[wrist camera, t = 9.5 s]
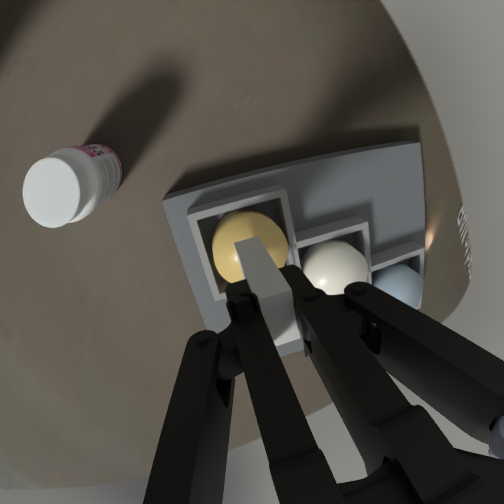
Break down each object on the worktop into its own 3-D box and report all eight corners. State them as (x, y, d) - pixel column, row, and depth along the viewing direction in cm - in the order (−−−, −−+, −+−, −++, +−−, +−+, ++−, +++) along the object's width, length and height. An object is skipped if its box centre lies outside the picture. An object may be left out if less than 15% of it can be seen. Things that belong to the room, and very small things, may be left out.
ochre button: (203, 219, 21) (204, 229, 19) (271, 200, 22) (280, 208, 19) (221, 280, 23) (224, 295, 21) (284, 261, 24) (293, 275, 21)
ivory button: (294, 247, 23) (304, 259, 21) (351, 230, 24) (366, 240, 21) (303, 300, 25) (313, 315, 23) (356, 282, 26) (369, 295, 23)
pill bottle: (119, 138, 20) (80, 140, 13) (127, 196, 22) (95, 228, 15) (66, 150, 20) (11, 161, 12) (75, 206, 22) (27, 241, 14)
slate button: (365, 269, 25) (379, 281, 23) (409, 253, 26) (424, 263, 23) (366, 314, 27) (378, 328, 25) (407, 297, 28) (420, 309, 25)
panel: (165, 194, 23) (158, 206, 19) (404, 140, 24) (433, 144, 21) (222, 356, 30) (227, 385, 26) (409, 292, 31) (430, 310, 27)
